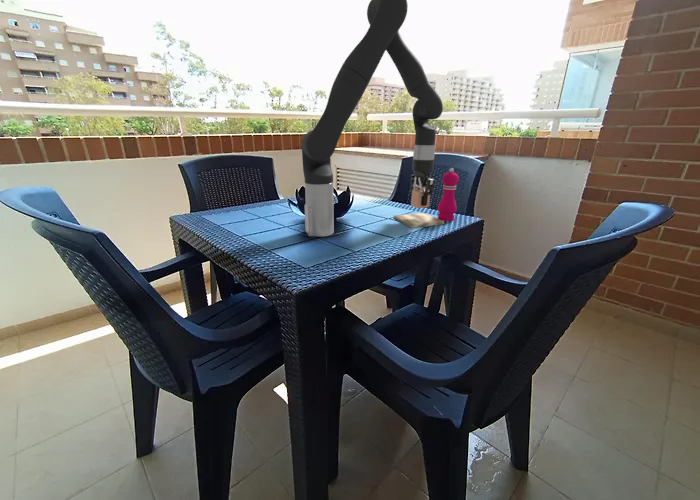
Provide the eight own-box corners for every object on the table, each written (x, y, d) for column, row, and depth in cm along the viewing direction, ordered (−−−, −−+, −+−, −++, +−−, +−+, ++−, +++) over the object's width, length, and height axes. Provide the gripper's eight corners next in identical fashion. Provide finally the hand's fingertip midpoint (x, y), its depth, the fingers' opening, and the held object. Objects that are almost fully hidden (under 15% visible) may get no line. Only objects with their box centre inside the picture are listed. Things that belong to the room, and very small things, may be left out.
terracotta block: (417, 208, 119) (418, 192, 117) (410, 205, 124) (412, 189, 122) (429, 207, 121) (430, 191, 119) (422, 204, 125) (423, 189, 123)
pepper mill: (457, 221, 124) (464, 169, 117) (438, 221, 124) (444, 169, 117) (452, 216, 131) (458, 166, 123) (434, 216, 131) (439, 166, 124)
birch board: (411, 227, 116) (411, 224, 116) (394, 217, 128) (394, 215, 128) (443, 224, 120) (444, 221, 120) (424, 215, 133) (424, 212, 132)
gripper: (443, 159, 111) (438, 207, 117) (422, 156, 123) (418, 199, 129) (425, 160, 108) (421, 209, 115) (405, 156, 121) (402, 200, 127)
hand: (419, 203), depth 122 cm, fingers closed on terracotta block, 5 cm apart
